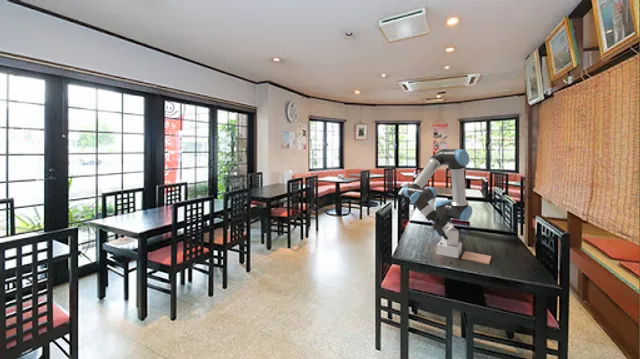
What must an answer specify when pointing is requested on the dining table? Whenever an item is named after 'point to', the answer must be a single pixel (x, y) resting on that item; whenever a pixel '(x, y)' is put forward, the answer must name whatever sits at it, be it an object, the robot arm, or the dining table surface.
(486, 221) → the dining table surface
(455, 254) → the white open box
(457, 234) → the milk carton
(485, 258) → the terracotta tile
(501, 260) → the dining table surface
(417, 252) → the dining table surface
